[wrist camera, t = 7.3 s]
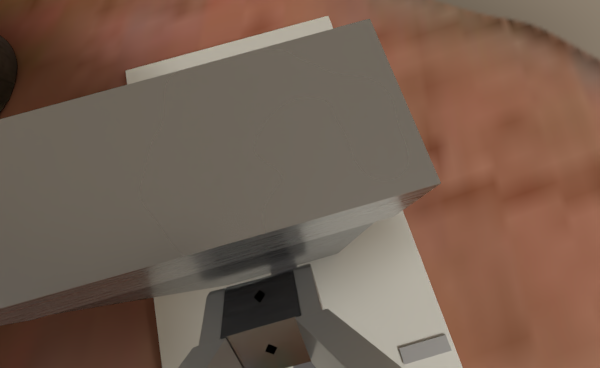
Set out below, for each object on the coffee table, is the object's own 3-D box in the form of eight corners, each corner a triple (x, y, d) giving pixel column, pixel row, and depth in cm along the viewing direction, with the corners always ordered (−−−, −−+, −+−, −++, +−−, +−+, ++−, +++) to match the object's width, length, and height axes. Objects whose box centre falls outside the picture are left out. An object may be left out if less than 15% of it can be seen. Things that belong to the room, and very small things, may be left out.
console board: (202, 493, 13) (181, 534, 11) (144, 90, 19) (124, 69, 17) (465, 415, 13) (491, 440, 11) (327, 41, 19) (328, 14, 17)
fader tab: (220, 286, 13) (-155, 352, 3) (212, 242, 14) (-126, 153, 3) (344, 251, 13) (440, 184, 3) (330, 208, 14) (369, 18, 3)
